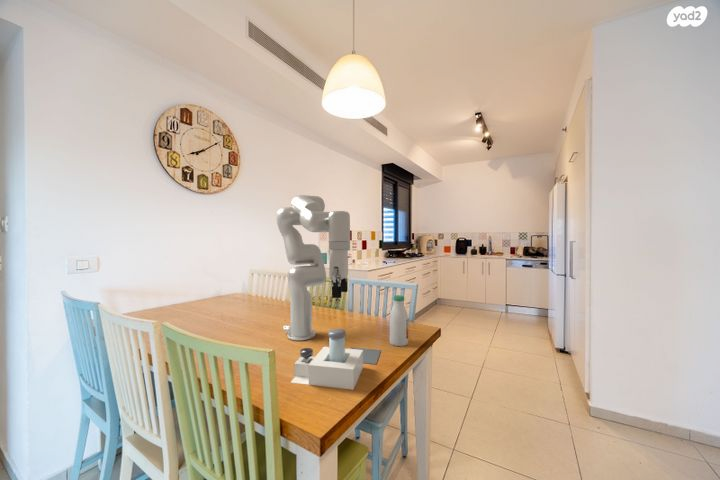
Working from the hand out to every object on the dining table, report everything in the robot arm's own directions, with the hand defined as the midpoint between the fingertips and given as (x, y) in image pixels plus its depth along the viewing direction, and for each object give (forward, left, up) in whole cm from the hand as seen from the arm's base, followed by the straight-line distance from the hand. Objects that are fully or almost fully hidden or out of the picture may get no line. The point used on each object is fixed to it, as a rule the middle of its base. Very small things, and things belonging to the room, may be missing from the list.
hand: (340, 294), depth 101 cm
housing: (-2, -10, -25) cm, 27 cm away
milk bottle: (+19, +23, -25) cm, 39 cm away
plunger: (-9, -10, -23) cm, 27 cm away
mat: (+7, +6, -25) cm, 27 cm away
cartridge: (+2, -10, -24) cm, 26 cm away
